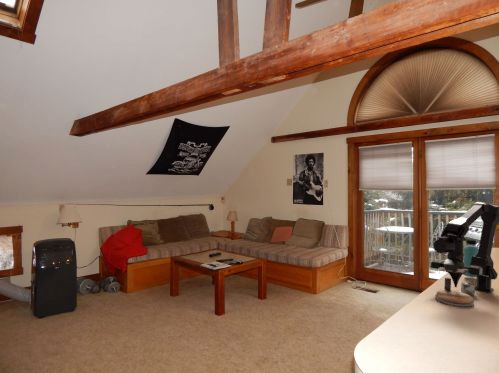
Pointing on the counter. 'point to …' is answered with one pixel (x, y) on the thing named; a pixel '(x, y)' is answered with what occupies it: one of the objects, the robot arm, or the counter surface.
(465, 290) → the cover
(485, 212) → the robot arm
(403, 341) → the counter surface
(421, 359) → the counter surface
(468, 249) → the beverage bottle
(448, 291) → the turntable
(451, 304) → the base
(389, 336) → the counter surface
